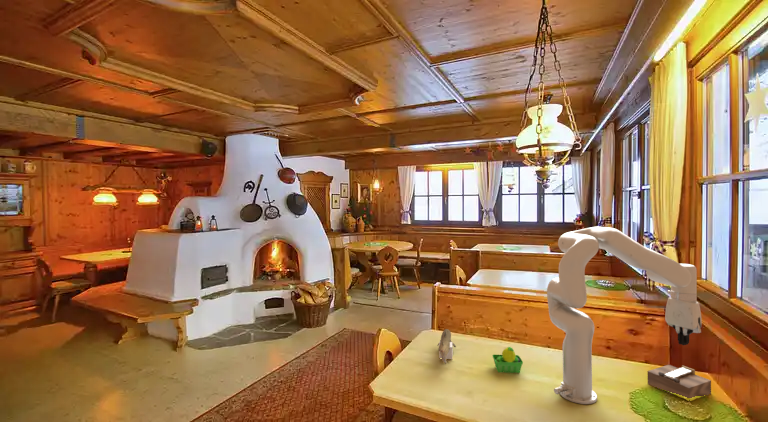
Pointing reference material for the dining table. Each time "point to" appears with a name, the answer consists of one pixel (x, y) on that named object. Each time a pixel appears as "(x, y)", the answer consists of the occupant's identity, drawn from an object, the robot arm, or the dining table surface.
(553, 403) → the dining table surface
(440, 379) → the dining table surface
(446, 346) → the wood carving
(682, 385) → the walnut box
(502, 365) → the fruit basket
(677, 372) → the steel strap
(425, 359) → the dining table surface
